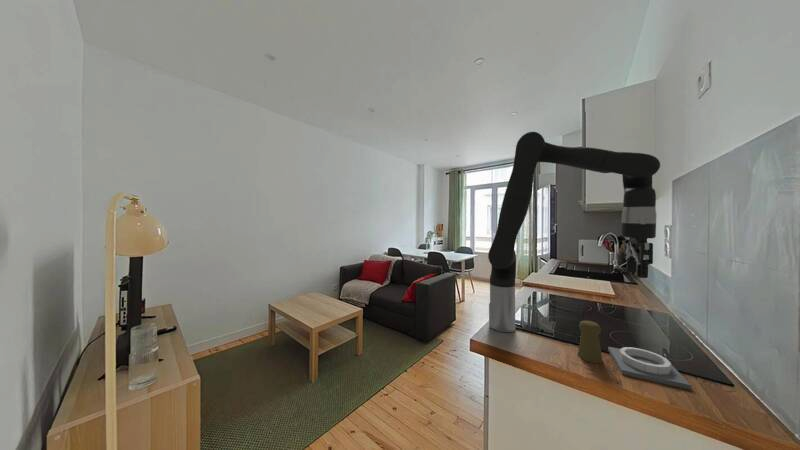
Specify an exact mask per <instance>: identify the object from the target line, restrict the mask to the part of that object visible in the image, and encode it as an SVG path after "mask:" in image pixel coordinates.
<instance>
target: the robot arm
mask: <svg viewBox="0 0 800 450" xmlns="http://www.w3.org/2000/svg"><path fill="white" fill-rule="evenodd" d="M515 146H516V147H515V151H514V159H513V165H512V169H511V170H512V171H511V173H510V177H509V179H508V182H507V185H506V188H505V189H506V190H505V192H504V196H503V199H502V203H501V206H500V213H499V217H498V222H497V227H496V232H495V235H494V238H493V240H492V243H491V246H490V248H489V251H488V255H487V258H488V261H489V264H490V265H491V270H490V276H489V303H488V327H489V329H492V330H494V331H497V332H500V333H513V332H515V331H516V278H517V254H516V251H515V247H516V241H517V237H518V234H519V233H520V229H521V227H522V225H523V224H524V222H525V219H526V217H527V213H528V210H529V207H530V205H531V199H532V196H533V195H532V194H533V188H534V187H533V186H534V176H535V172H536V171H535V170H536V167H537V164H538V163H547V164H548V163H549V164H557V165H561V166H562V165H564V166H568V167H572V168H577V169H581V170H587V171H591V172H596V173H600V174H601V173H602V174H612V173H613V174H617V175H622V176H621V177H622V186H623V207H622V213H621V231H620V235H621V237H623V238H625V239H624V248H623V249H624V250H623V257H624V258H625V260H626V272H628V273H636V277H637V278H640V279H648V277H649V266H650V265H653V264H654V244H653V243H652V242H648V239H656V236H657V235H656V234H657V233H656V232H657V211H656V202H657V200H656V199H657V197H656V196H657V194H656V193H657V192H656V190H655V188H653V176H654V175H656V173H658V171H659V169H660V167H661V161H660V160H659V159H658V158H657V157H656V156H655V155H651V154H649V153H643V152H631V151H630V152H628V151H627V152H626V151H613V150H608V149H602V148H597V147H596V148H595V147H589V146H587V147H585V146H562V145H556V144H553V143H550V142H547V141H545V138H544V136H543V135H542V134H540V133H539V132H538V131H537V132H536V131H528V132H526V133H524V134H523V135H521V137H520V138H518V140H517V142H516V145H515ZM626 238H628V239H626Z"/></svg>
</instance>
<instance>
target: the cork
mask: <svg viewBox="0 0 800 450" xmlns="http://www.w3.org/2000/svg"><path fill="white" fill-rule="evenodd" d="M578 327H579V330H580V331H581V332H580V339H579V344H578V351H577V356H578V358H580V359H581V360H582V361H585V362H588V363H592V364H602V363H603V357H602V356H603V355H602V350H601V342H600V338H599V335H600V334H601V333H602V332H601V331H602V330H601V326H600V325H599V323H597V322H594V321H591V320H581V321H580V322H579V326H578Z"/></svg>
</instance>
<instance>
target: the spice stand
mask: <svg viewBox="0 0 800 450" xmlns="http://www.w3.org/2000/svg"><path fill="white" fill-rule="evenodd" d="M607 351H608V353H609V354H610V356H611V359H612V360H613V361H614V363H615V364H616V366H617V369H618V370H619V372H620V375H624V376H628V377H633V378H637V379H641V380H646V381H650V382H654V383H659V384H664V385H668V386H672V387H677V388H681V389H685V390H689V391H692V384H691V383H690V382H689V381H688V380H686V378H685V377H684V376H683V374H682V373H680V371H678V369H676V368H675V366H673V364H672V362H671V361H669V359H667V358H666V357H665V356H663V355H660V354H659V353H655V352H653V351H650V350H648V349H647V350H646V349H643V348H637V347H631V346H630V347H629V346H628V347H625V346H624V347H622V348H617V347H612V346H607Z"/></svg>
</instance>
